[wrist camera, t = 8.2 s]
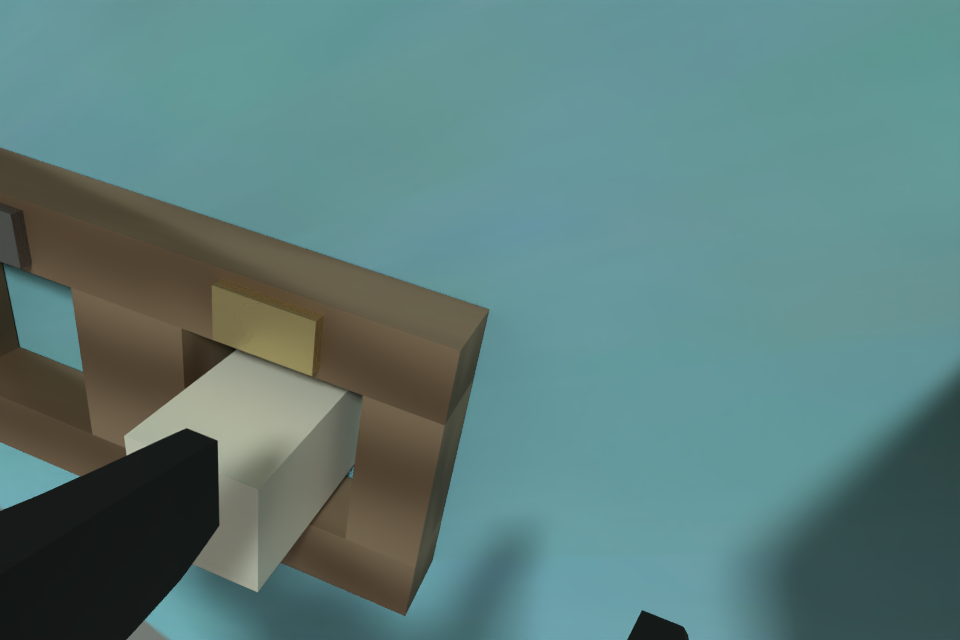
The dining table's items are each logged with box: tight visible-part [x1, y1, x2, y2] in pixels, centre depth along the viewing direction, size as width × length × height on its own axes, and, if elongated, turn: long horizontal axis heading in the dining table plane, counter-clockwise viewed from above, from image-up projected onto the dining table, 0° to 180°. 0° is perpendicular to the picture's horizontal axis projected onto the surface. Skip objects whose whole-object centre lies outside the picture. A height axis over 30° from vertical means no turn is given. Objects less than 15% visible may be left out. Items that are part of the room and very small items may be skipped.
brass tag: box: [212, 280, 324, 376], centre depth 18 cm, size 2×3×1 cm, turn 79°
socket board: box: [0, 148, 489, 616], centre depth 23 cm, size 11×21×2 cm, turn 79°
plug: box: [124, 349, 363, 592], centre depth 20 cm, size 4×4×6 cm
